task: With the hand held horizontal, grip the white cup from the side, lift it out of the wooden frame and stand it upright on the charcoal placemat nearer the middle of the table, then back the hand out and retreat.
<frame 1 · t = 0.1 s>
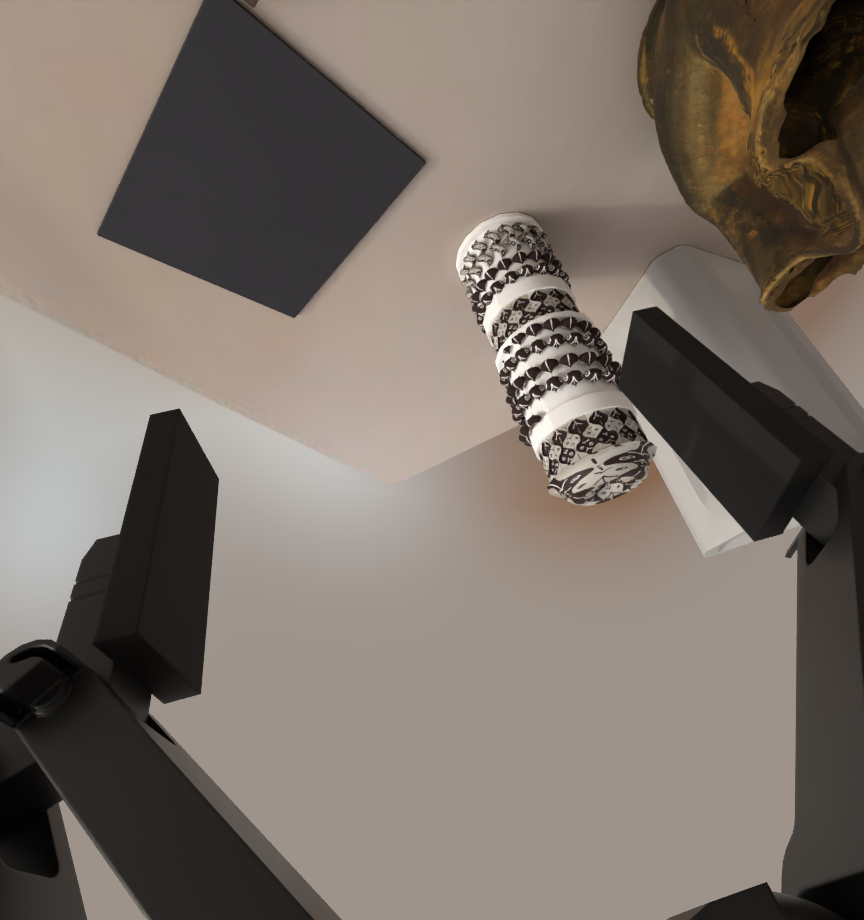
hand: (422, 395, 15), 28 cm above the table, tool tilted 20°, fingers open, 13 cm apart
mat: (264, 195, 37), on the table
white triangular vase: (669, 292, 60), on the table
decorative candle: (498, 252, 48), on the table
pottery vessel: (699, 35, 36), on the table
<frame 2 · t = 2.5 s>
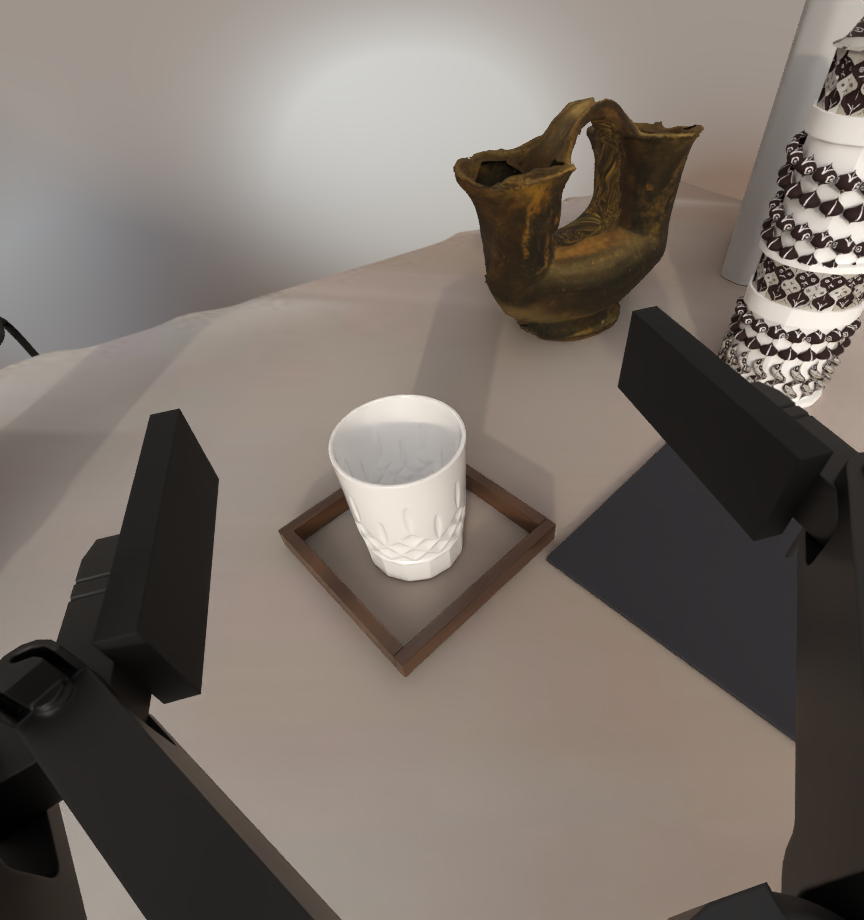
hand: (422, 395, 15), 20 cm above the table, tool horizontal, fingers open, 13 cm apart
white cup: (416, 542, 36), resting in wooden frame
mat: (739, 566, 32), on the table
white triangular vase: (778, 265, 60), on the table
decorative candle: (764, 382, 45), on the table
pottery vessel: (565, 320, 56), on the table
wooden frame: (416, 541, 36), on the table
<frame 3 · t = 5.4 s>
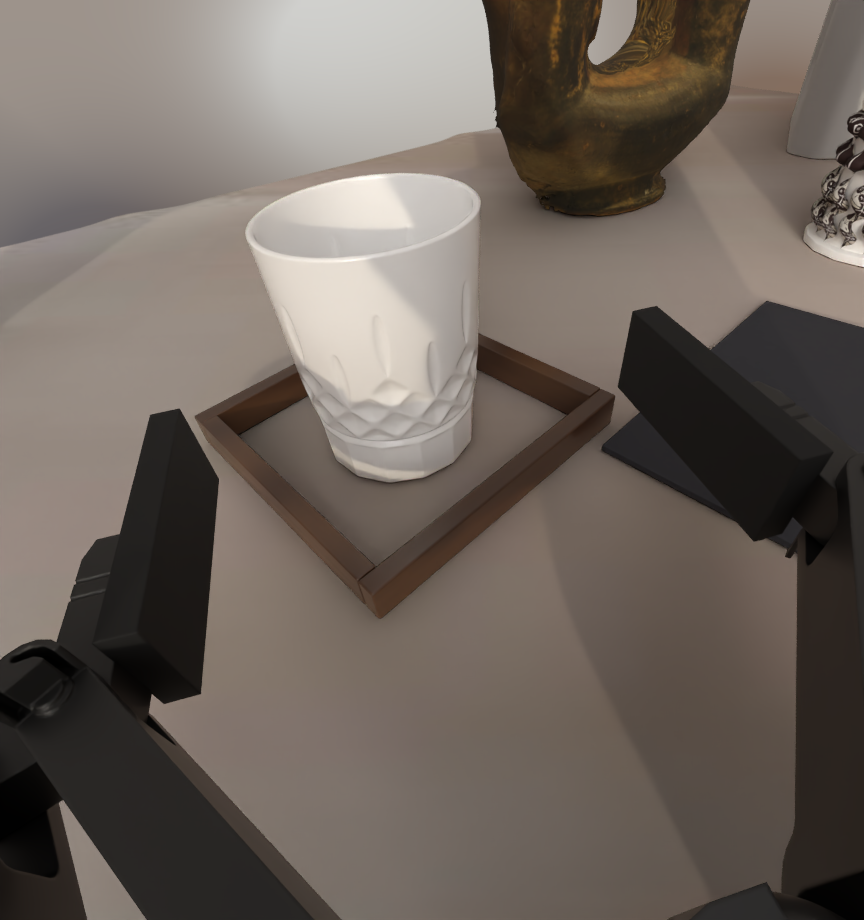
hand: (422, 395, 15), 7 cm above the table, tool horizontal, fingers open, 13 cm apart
white cup: (402, 435, 24), resting in wooden frame
white triangular vase: (857, 141, 48), on the table
pottery vessel: (595, 199, 44), on the table
wooden frame: (401, 432, 24), on the table
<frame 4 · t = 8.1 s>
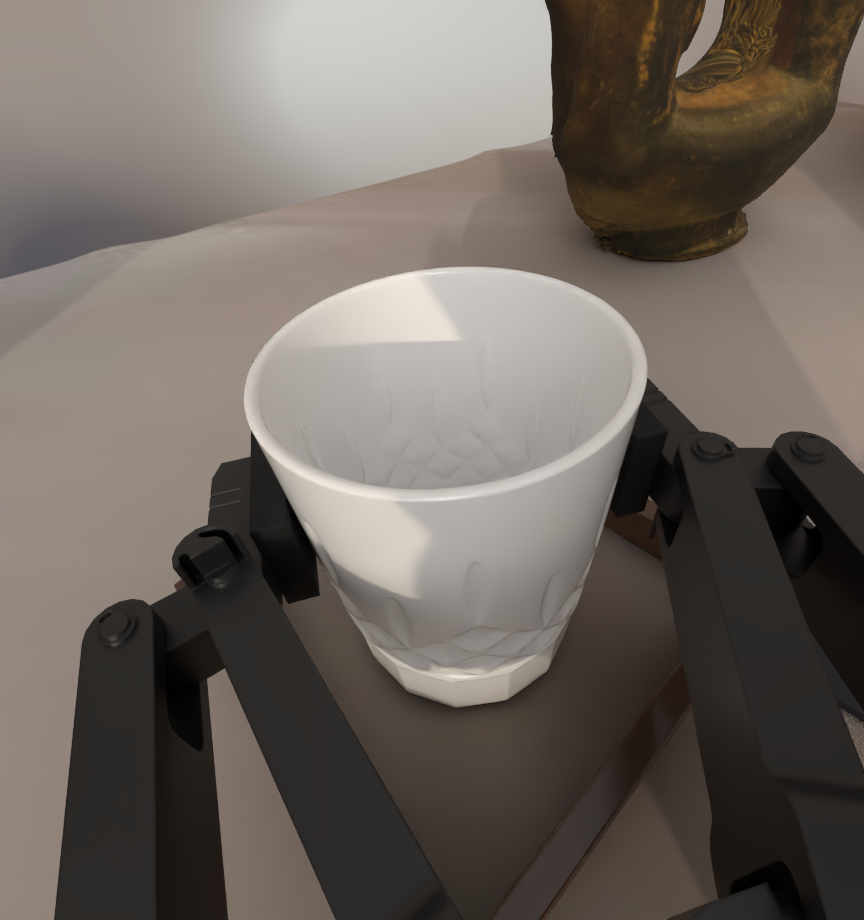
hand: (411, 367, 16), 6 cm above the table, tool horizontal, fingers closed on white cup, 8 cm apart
white cup: (464, 608, 17), resting in wooden frame, touching gripper
pottery vessel: (662, 237, 37), on the table
wooden frame: (464, 605, 17), on the table
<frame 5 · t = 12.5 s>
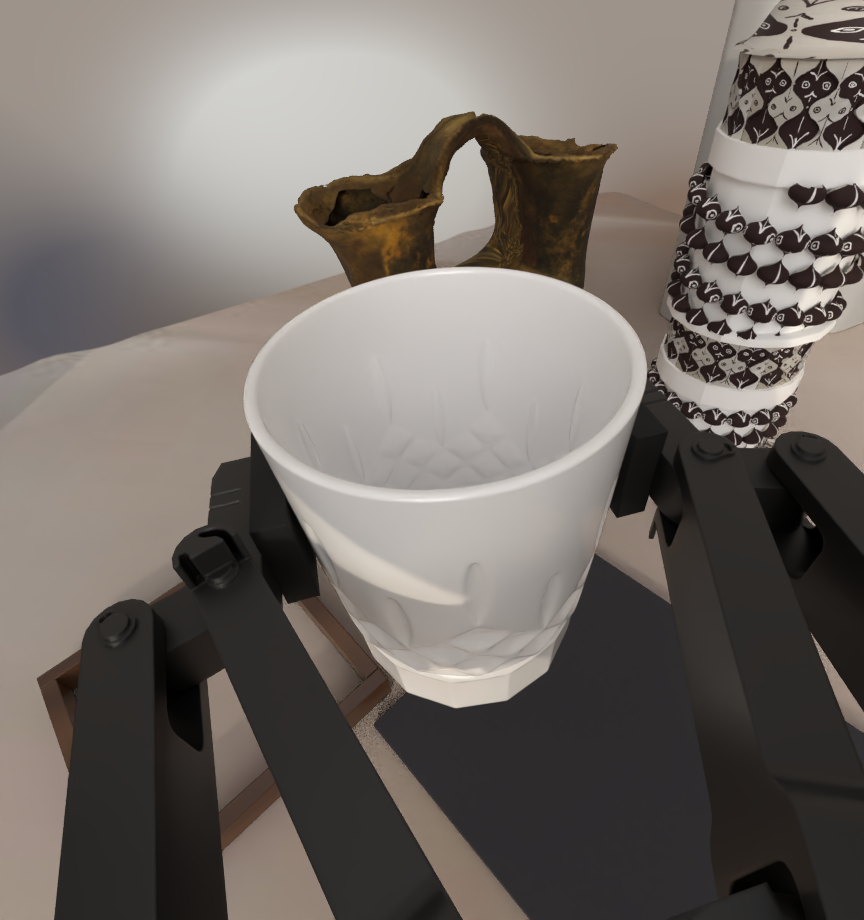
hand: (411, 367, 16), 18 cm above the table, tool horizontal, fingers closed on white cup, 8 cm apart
white cup: (464, 608, 17), point 11 cm above the table, touching gripper
mat: (622, 744, 24), on the table
white triangular vase: (726, 301, 52), on the table
decorative candle: (691, 458, 37), on the table
pottery vessel: (473, 368, 48), on the table
wooden frame: (218, 690, 28), on the table
when the fingers open (7 cm above the table, at t = 17.0 s): white cup stays where it is, resting on mat.
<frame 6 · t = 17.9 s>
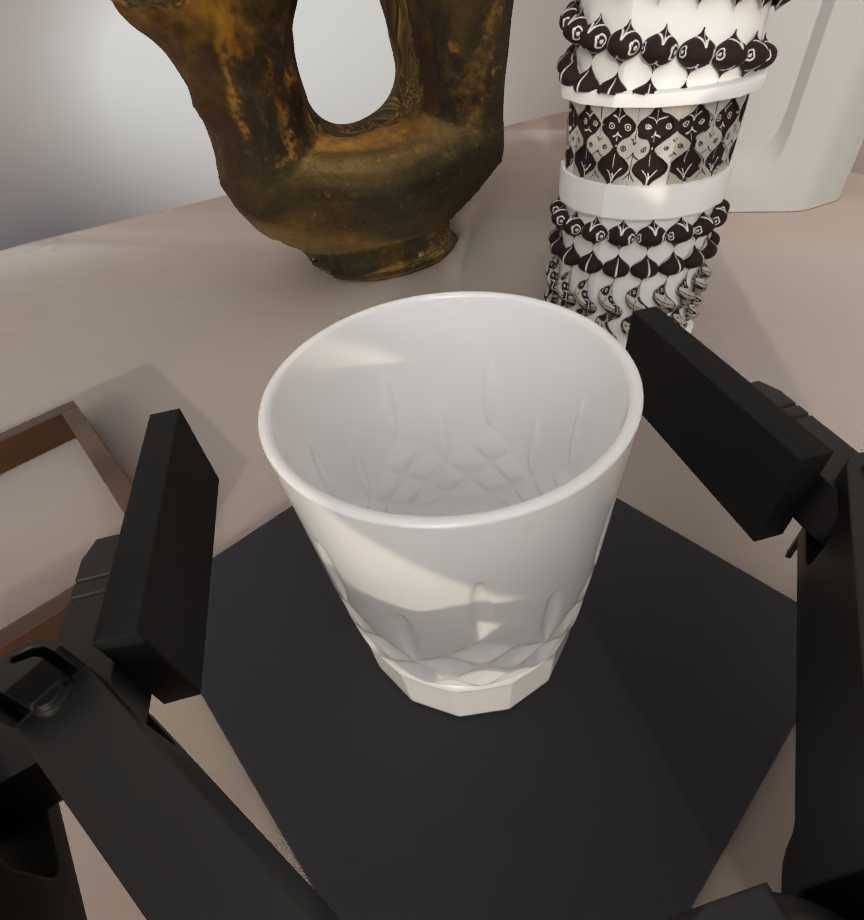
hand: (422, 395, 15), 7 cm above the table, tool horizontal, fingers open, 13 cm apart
white cup: (467, 618, 18), resting on mat
mat: (465, 618, 18), on the table
white triangular vase: (681, 191, 46), on the table
decorative candle: (616, 326, 31), on the table
pottery vessel: (383, 257, 41), on the table
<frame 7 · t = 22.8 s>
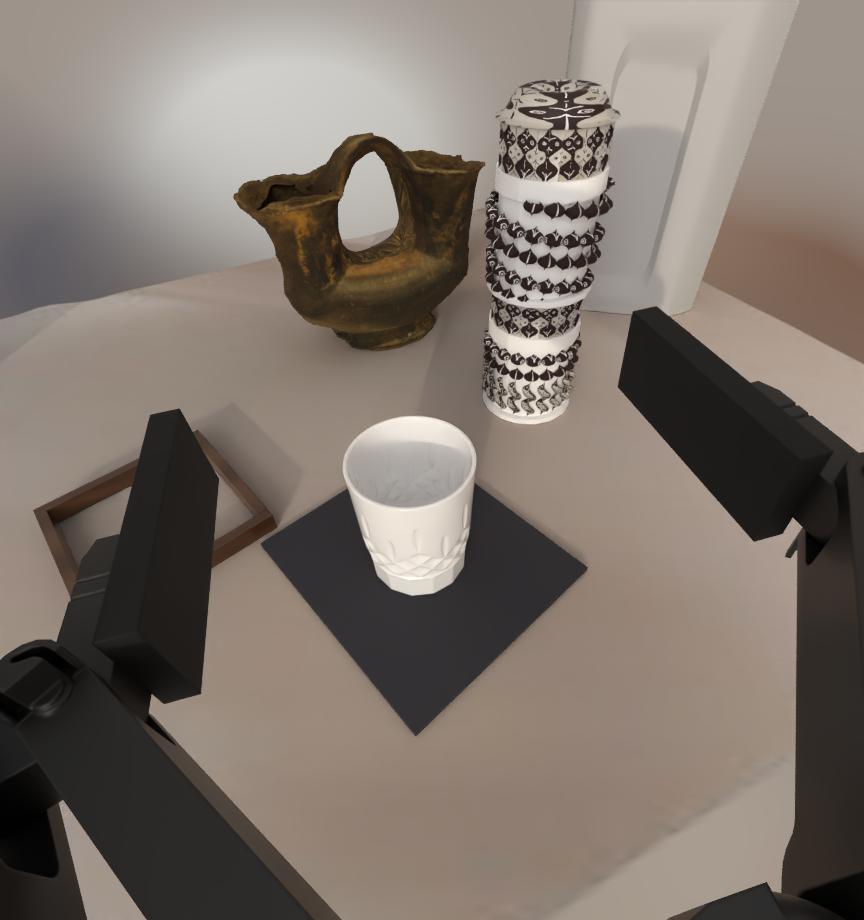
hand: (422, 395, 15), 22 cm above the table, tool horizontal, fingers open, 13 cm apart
white cup: (419, 557, 37), resting on mat
mat: (418, 557, 37), on the table
white triangular vase: (594, 290, 66), on the table
decorative candle: (525, 398, 50), on the table
pottery vessel: (384, 330, 60), on the table
wooden frame: (159, 525, 41), on the table
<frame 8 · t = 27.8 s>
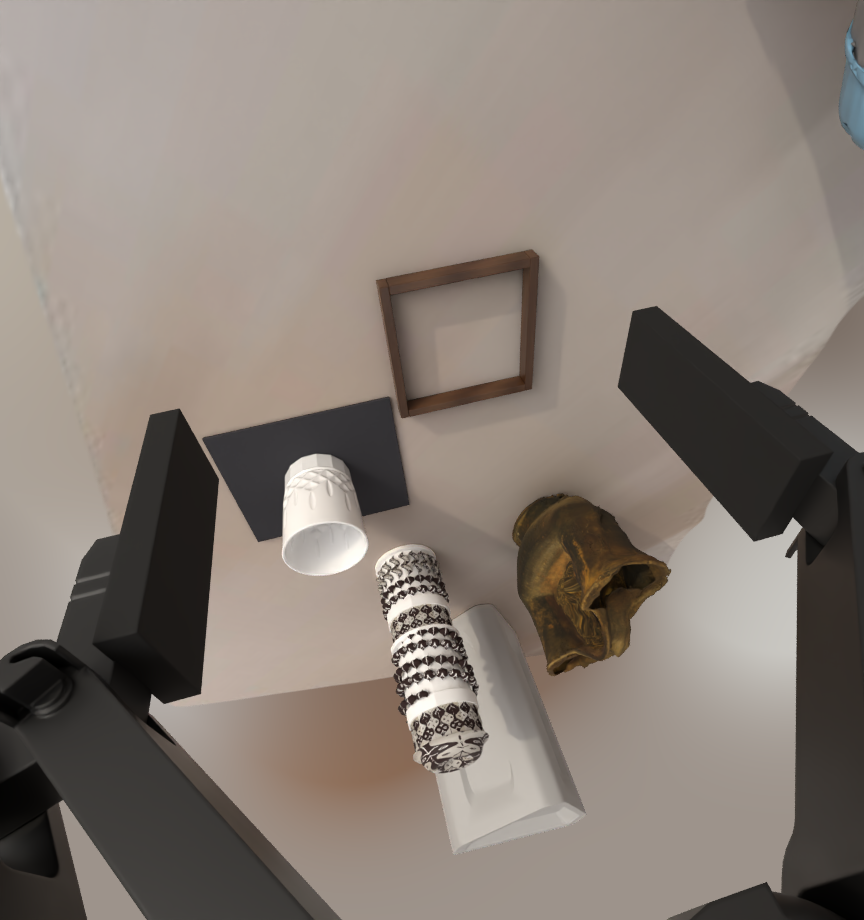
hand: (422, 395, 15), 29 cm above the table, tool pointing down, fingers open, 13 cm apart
white cup: (317, 475, 55), resting on mat
mat: (318, 474, 55), on the table
white triangular vase: (471, 628, 87), on the table
decorative candle: (405, 563, 70), on the table
pottery vessel: (544, 518, 70), on the table
wooden frame: (459, 335, 48), on the table
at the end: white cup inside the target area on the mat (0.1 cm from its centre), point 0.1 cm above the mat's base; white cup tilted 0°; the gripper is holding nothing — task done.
